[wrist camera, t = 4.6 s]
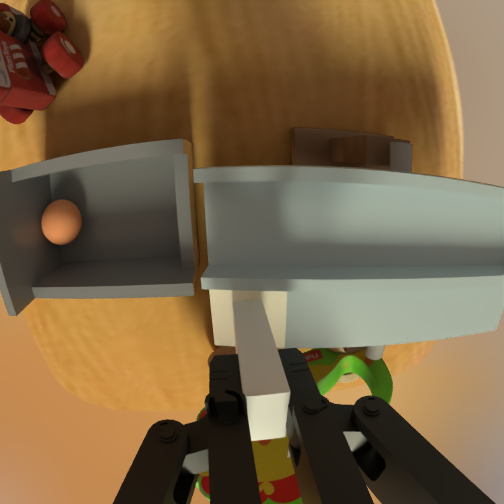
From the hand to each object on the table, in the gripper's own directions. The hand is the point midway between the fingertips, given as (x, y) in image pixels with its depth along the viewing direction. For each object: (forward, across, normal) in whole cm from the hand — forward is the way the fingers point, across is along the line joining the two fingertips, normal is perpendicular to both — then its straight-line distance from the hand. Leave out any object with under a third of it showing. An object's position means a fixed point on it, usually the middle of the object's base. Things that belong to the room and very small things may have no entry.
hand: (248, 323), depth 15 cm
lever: (+1, +8, +3) cm, 9 cm away
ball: (+5, -13, +5) cm, 15 cm away
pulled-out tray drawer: (+7, -9, +5) cm, 13 cm away
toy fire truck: (+8, -16, +19) cm, 26 cm away
